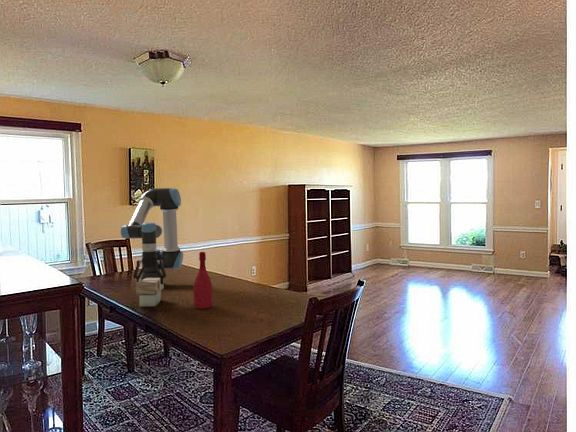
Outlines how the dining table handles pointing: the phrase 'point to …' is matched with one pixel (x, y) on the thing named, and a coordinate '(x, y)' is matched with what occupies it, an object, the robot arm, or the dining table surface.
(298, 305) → the dining table surface
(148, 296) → the dish
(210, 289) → the wine bottle
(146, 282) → the lid
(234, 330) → the dining table surface
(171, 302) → the dining table surface
